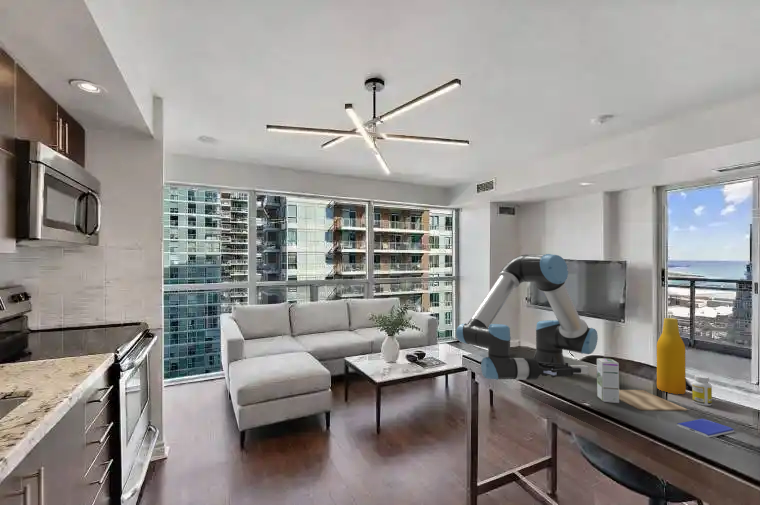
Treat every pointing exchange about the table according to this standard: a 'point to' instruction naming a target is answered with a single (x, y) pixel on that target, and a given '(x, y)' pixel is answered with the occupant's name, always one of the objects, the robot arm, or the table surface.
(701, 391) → the supplement bottle
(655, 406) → the wooden board
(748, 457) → the table surface
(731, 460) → the table surface
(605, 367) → the syrup box
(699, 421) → the hard drive
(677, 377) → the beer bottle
